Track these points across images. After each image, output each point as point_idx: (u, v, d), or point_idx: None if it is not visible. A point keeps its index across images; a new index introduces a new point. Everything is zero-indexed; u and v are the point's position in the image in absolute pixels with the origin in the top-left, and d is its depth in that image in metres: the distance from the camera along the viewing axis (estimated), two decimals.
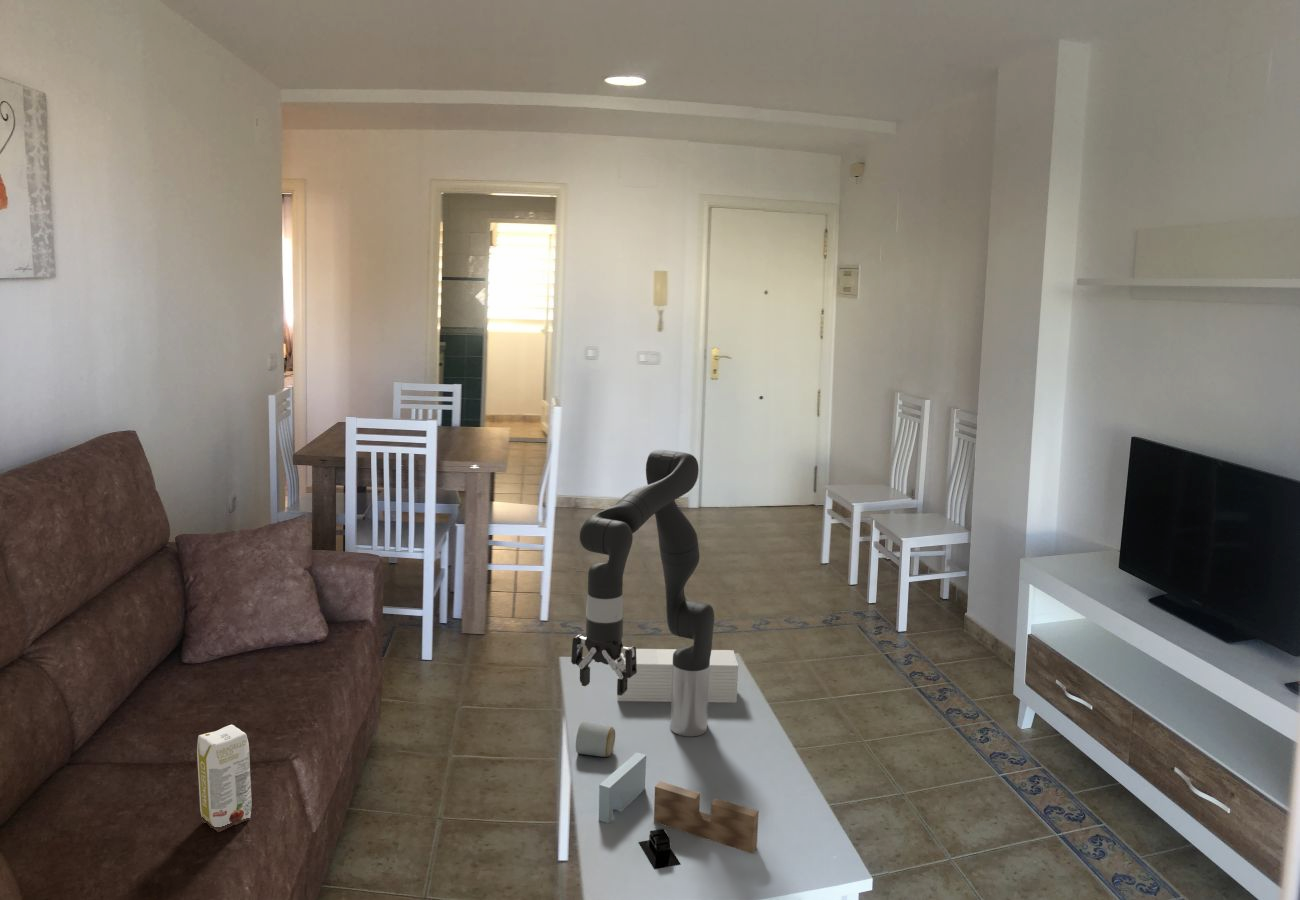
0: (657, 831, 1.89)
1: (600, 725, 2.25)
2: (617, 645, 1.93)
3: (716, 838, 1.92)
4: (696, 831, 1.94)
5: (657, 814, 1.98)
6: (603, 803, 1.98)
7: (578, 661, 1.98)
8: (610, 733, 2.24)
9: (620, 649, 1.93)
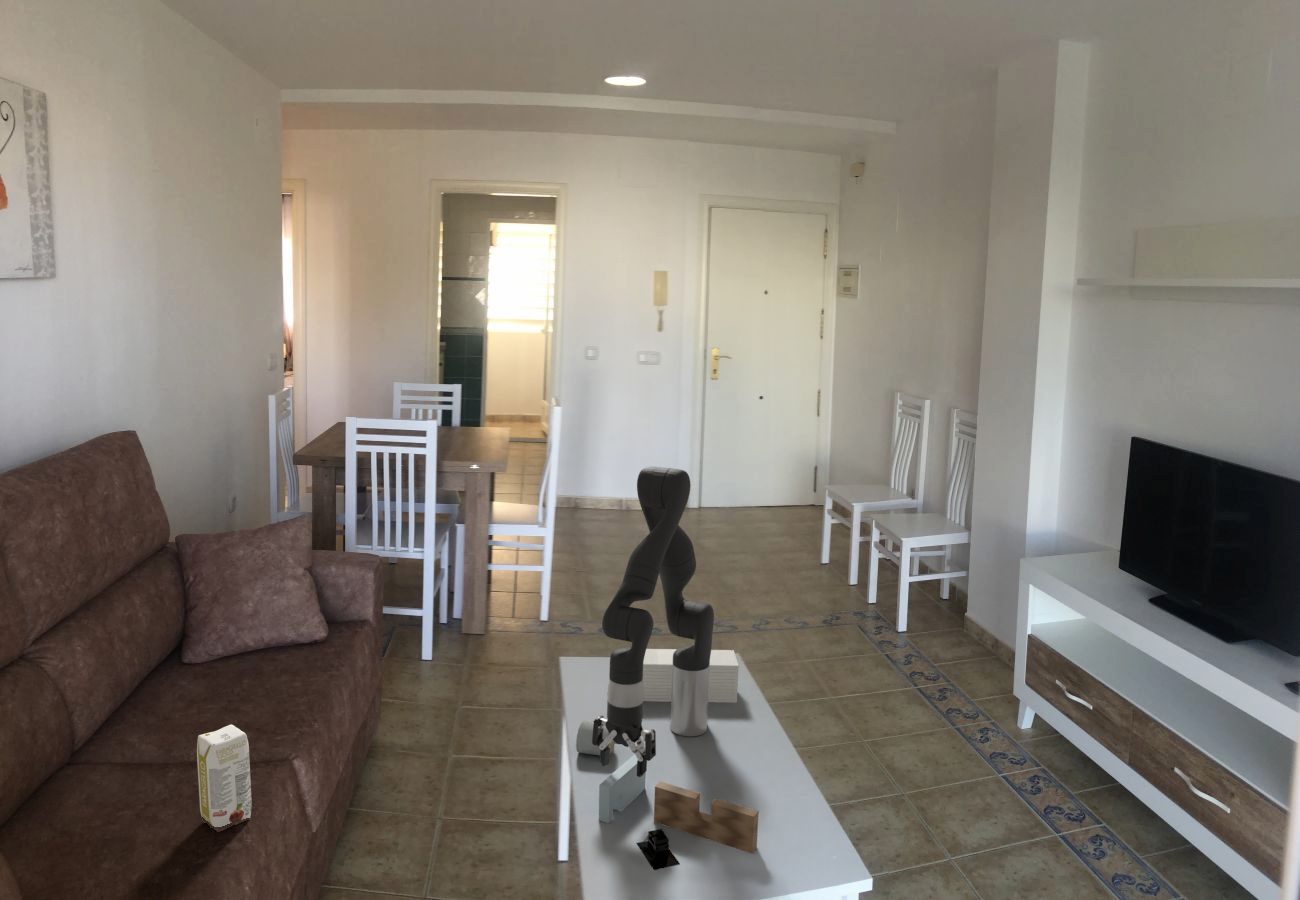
0: (655, 831, 1.89)
1: None
2: (637, 728, 2.00)
3: (716, 838, 1.92)
4: (696, 831, 1.94)
5: (657, 814, 1.98)
6: (603, 803, 1.98)
7: (599, 742, 2.05)
8: None
9: (640, 732, 2.00)
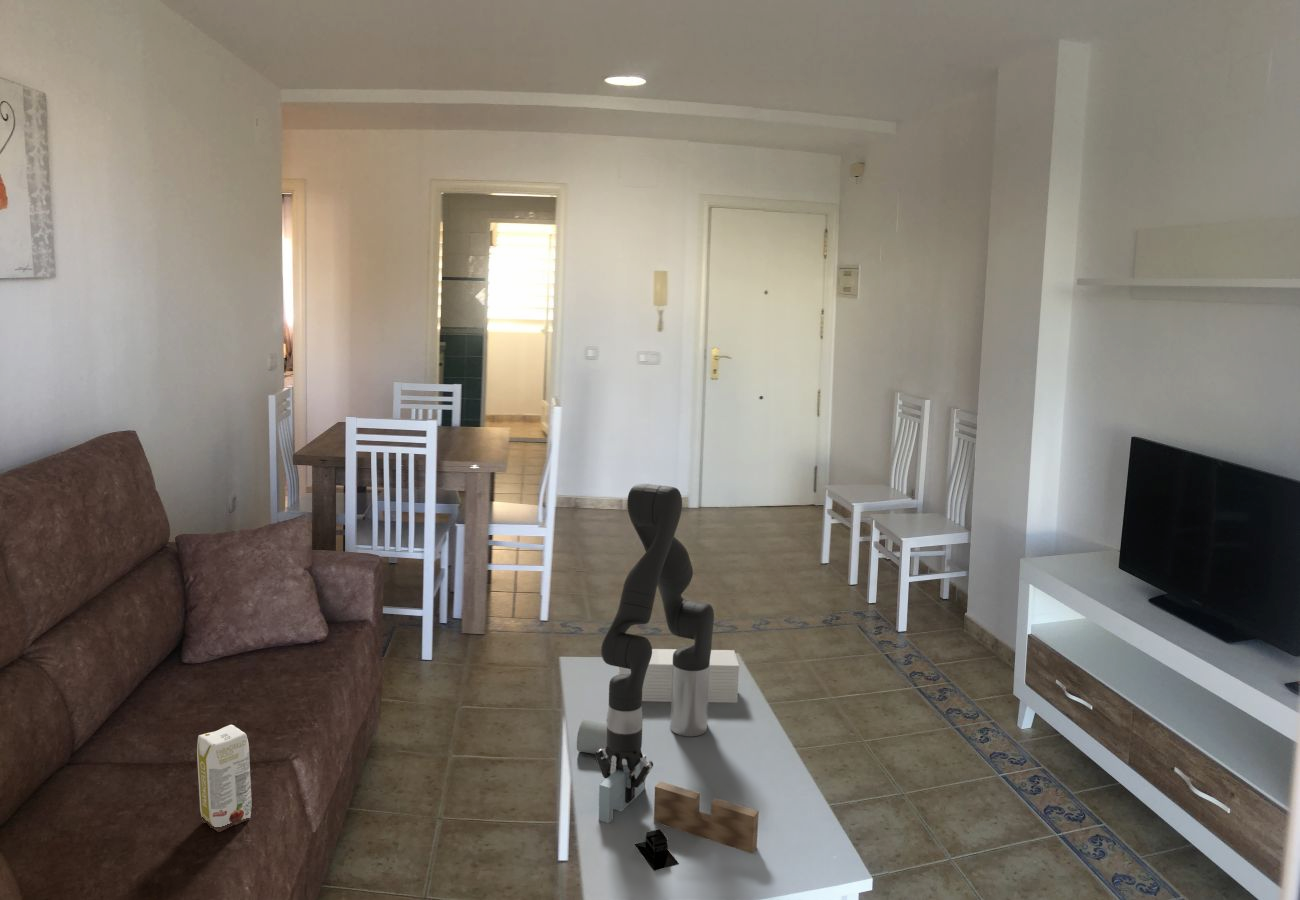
0: (653, 831, 1.88)
1: (601, 723, 2.26)
2: (637, 754, 2.01)
3: (716, 838, 1.92)
4: (696, 831, 1.94)
5: (657, 814, 1.98)
6: (603, 803, 1.98)
7: (609, 773, 2.05)
8: None
9: (639, 761, 2.01)
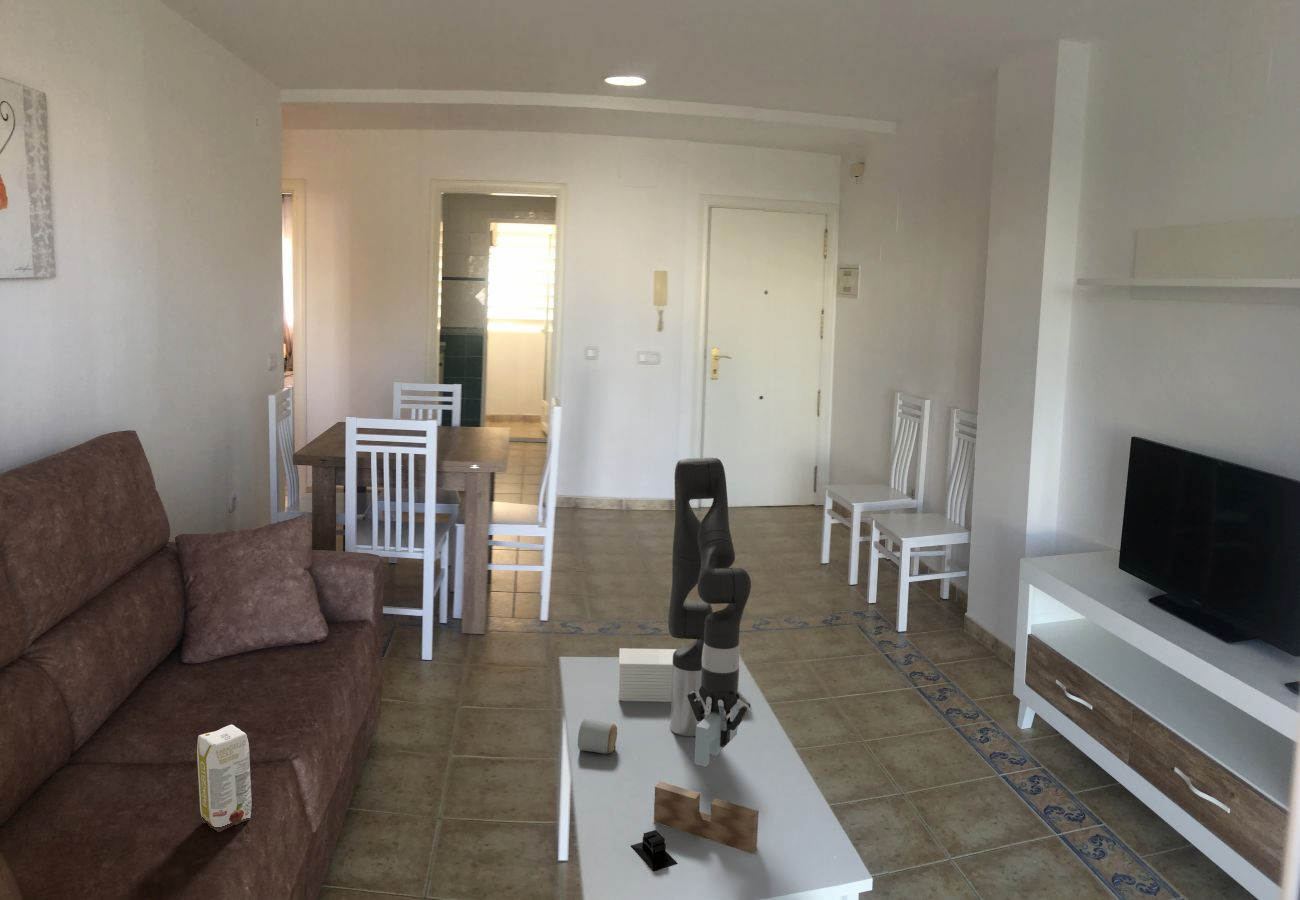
0: (650, 832, 1.88)
1: (602, 722, 2.27)
2: (734, 695, 1.91)
3: (716, 838, 1.92)
4: (696, 831, 1.94)
5: (657, 814, 1.98)
6: (699, 745, 1.88)
7: (703, 716, 1.96)
8: (612, 730, 2.25)
9: (736, 702, 1.92)
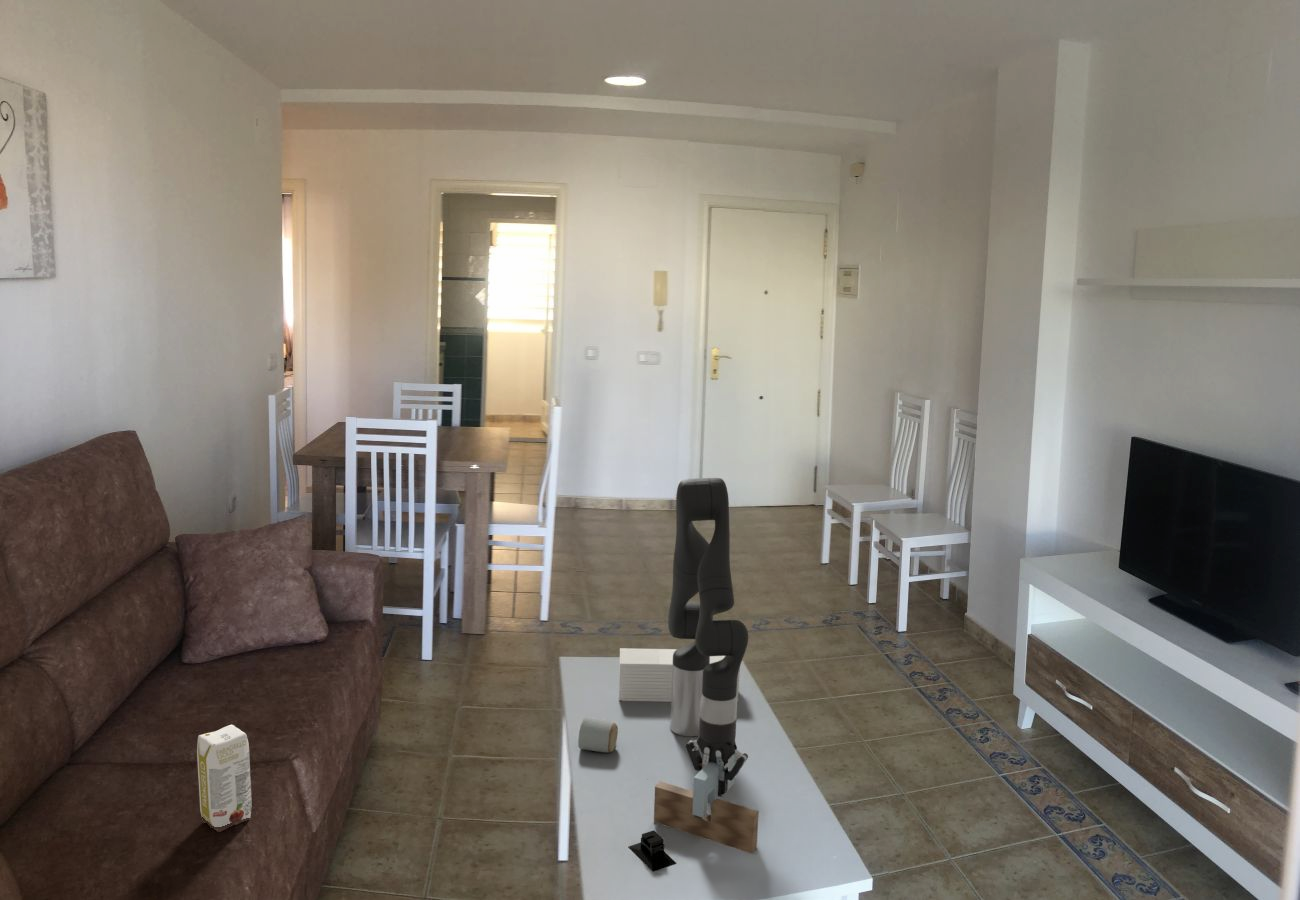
0: (648, 833, 1.88)
1: (602, 721, 2.27)
2: (731, 746, 1.93)
3: (716, 838, 1.92)
4: (696, 831, 1.94)
5: (657, 814, 1.98)
6: (697, 797, 1.90)
7: (700, 765, 1.97)
8: (612, 729, 2.26)
9: (734, 752, 1.93)
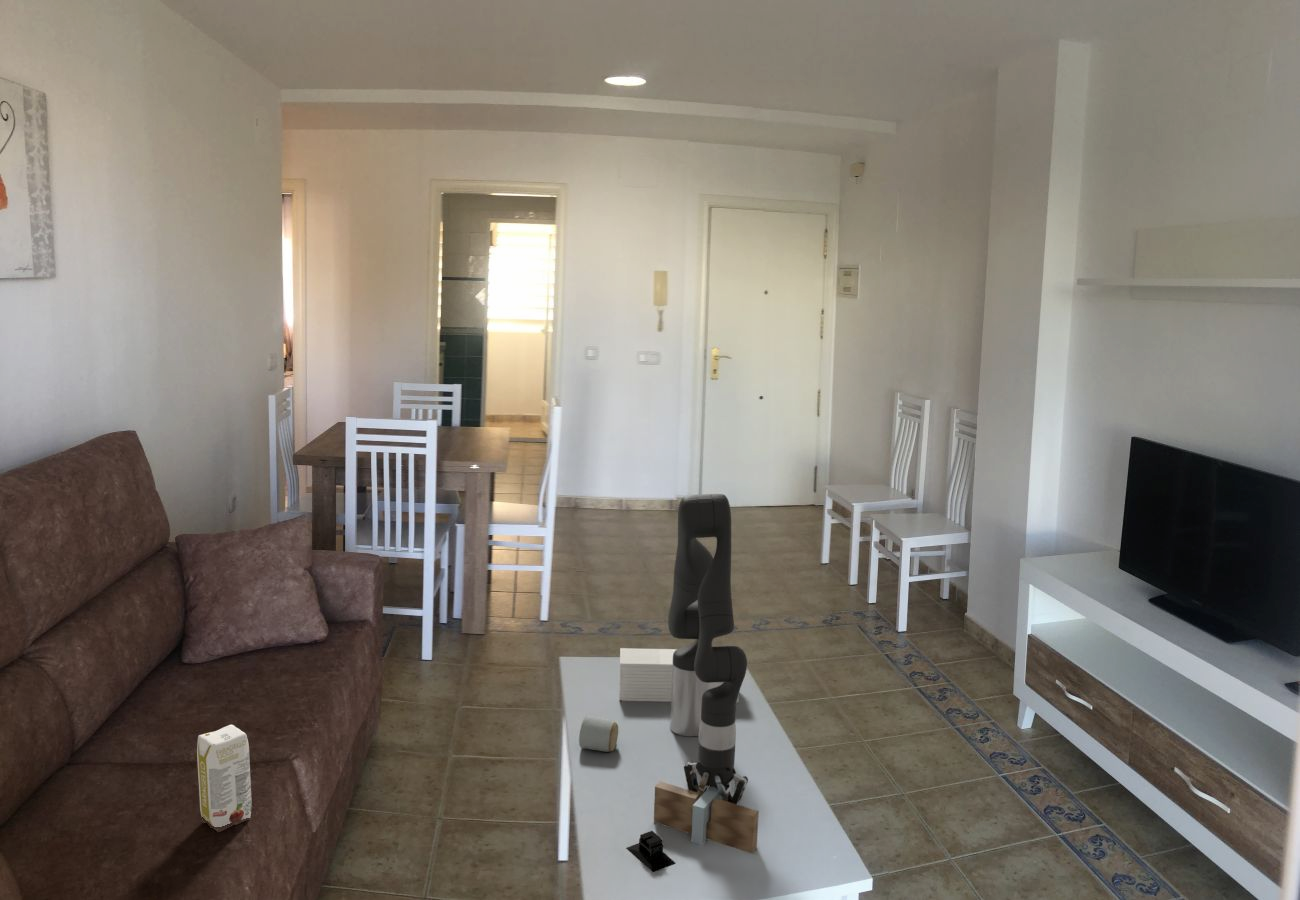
0: (647, 834, 1.88)
1: (603, 720, 2.28)
2: (730, 771, 1.94)
3: (716, 838, 1.92)
4: None
5: (657, 814, 1.98)
6: (696, 824, 1.91)
7: (695, 788, 1.99)
8: (613, 728, 2.26)
9: (733, 777, 1.94)
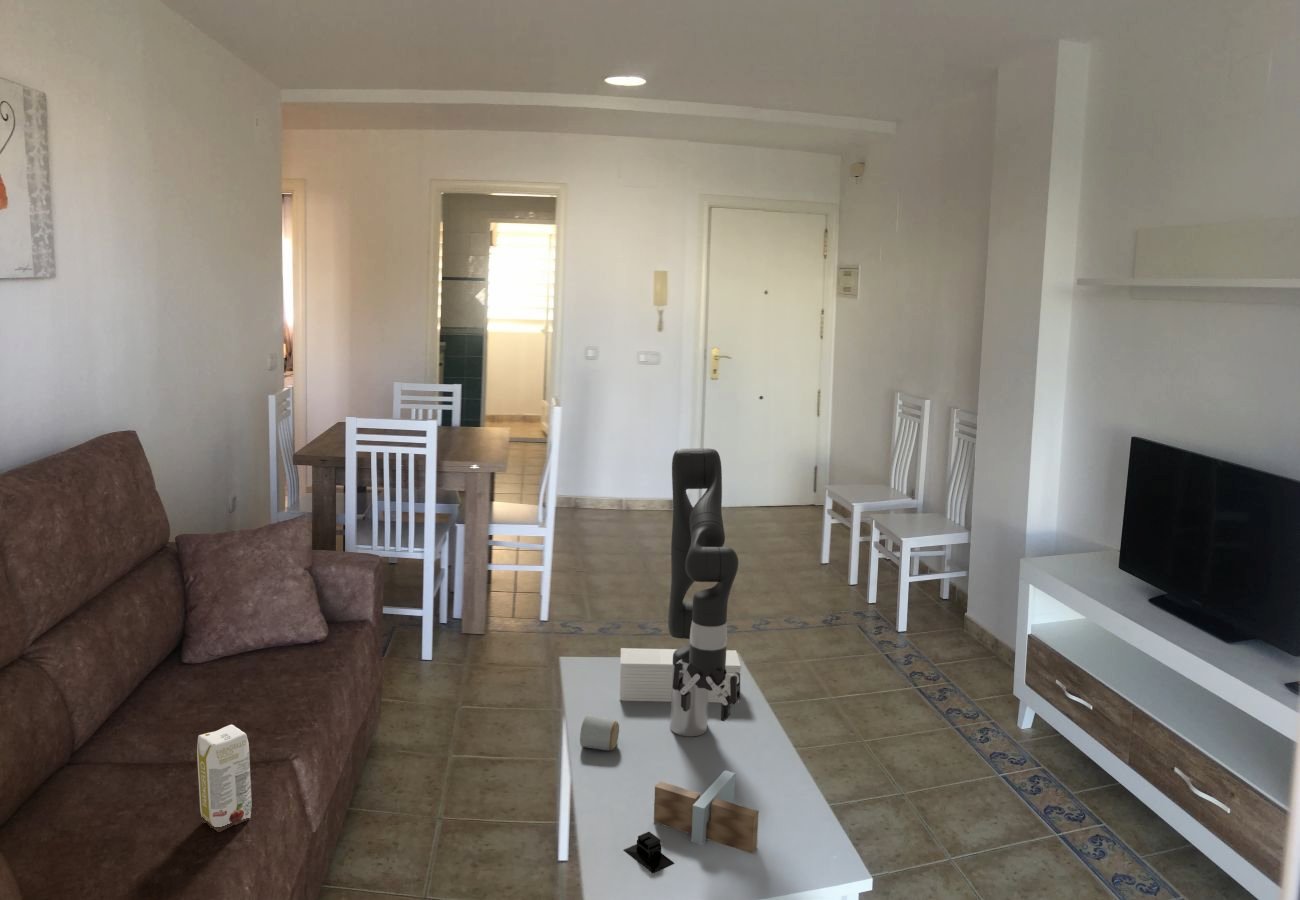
0: (644, 835, 1.87)
1: (604, 719, 2.28)
2: (722, 672, 1.94)
3: (716, 838, 1.92)
4: None
5: (657, 814, 1.98)
6: (696, 824, 1.91)
7: (679, 687, 1.99)
8: (614, 727, 2.27)
9: (724, 676, 1.94)
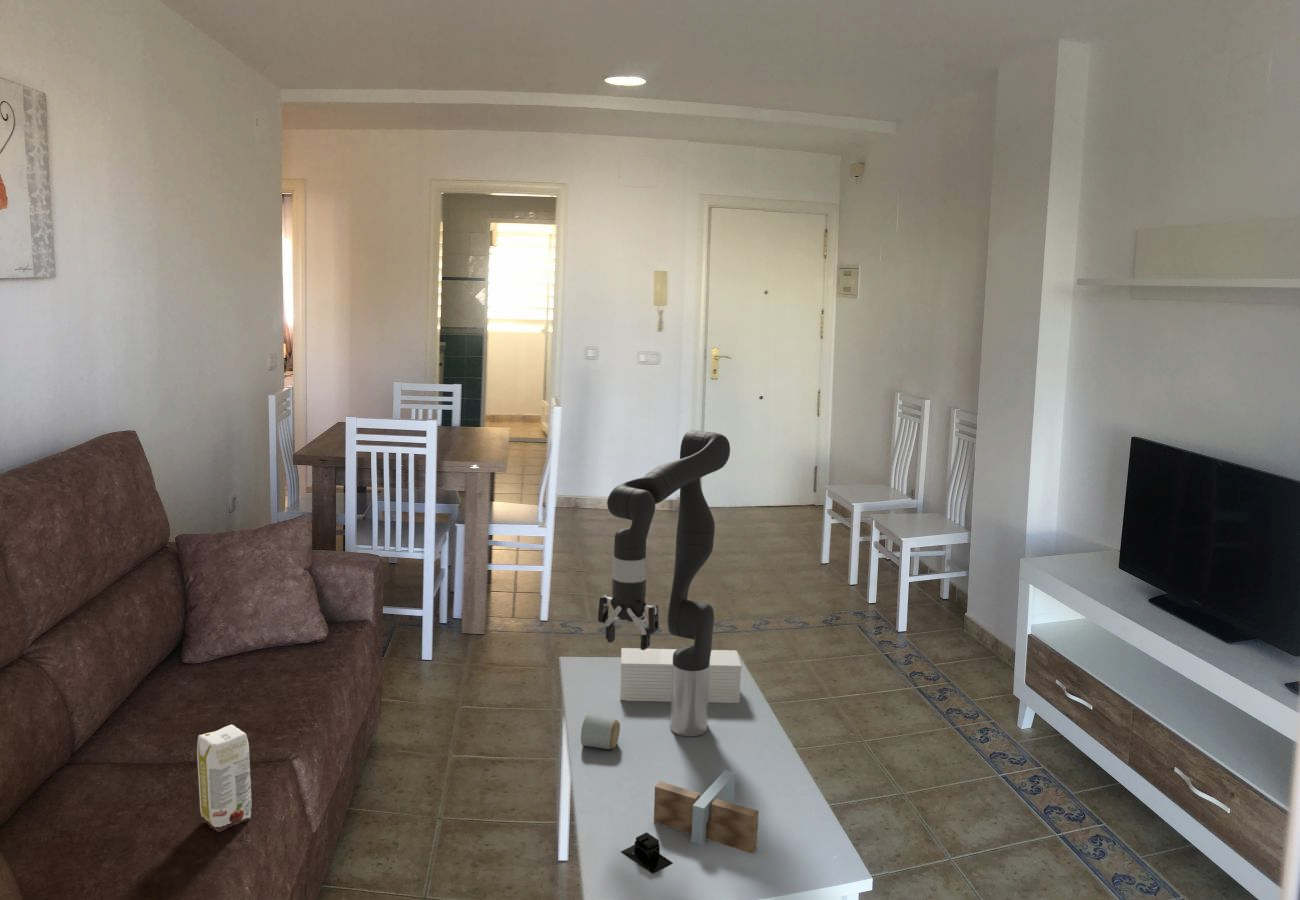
0: (642, 836, 1.87)
1: (605, 718, 2.29)
2: (641, 603, 2.10)
3: (716, 838, 1.92)
4: None
5: (657, 814, 1.98)
6: (696, 824, 1.91)
7: (604, 619, 2.16)
8: (614, 726, 2.27)
9: (643, 607, 2.10)
